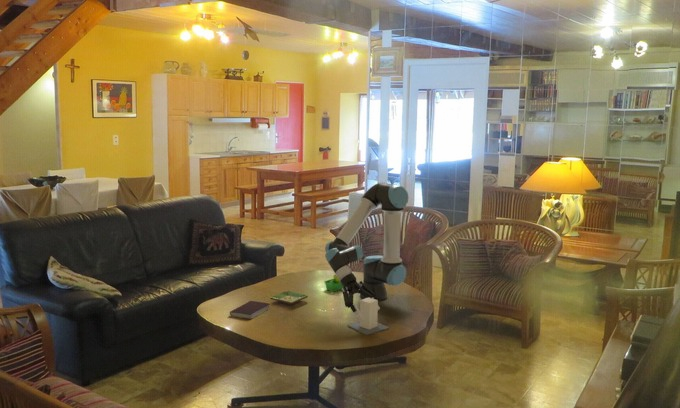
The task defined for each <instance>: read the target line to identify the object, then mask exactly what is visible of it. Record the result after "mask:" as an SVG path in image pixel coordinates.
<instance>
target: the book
mask: <svg viewBox="0 0 680 408" xmlns="http://www.w3.org/2000/svg"><path fill="white" fill-rule="evenodd" d="M269 309H271V307H270V303H268V302H263V301H254V300H250V301H248V302H246V303H243V304H242V305H239V306H238V307H236V308H234V309H233V310H230V311H229V316H230V315H232V316H231V317H234V316H237V317H236V318H239V317H241V318H240V319H244V318H245V319H244V320H253V319H254V318H256V317H258V316H259V315H261V314H262V313H264V312H266V311H268V310H269Z"/></svg>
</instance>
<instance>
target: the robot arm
mask: <svg viewBox="0 0 680 408" xmlns="http://www.w3.org/2000/svg"><path fill="white" fill-rule="evenodd" d="M360 201H361V202H359V204H358V206H357V207H356V208H355V210H354V211H353V212H352V214H351V215H350V217H349V218H348V219H347V221H346V223H345V224H344V226H343V227H342V228H341V230H340V231H339V233H338V234H337V235H336V237H335V238H334V239H333V240H331V241H329V242H327V243H326V244H325V246H324V247H325V249H324V251H325V255H324V257H325V259H326V261H327V263H328V265H329V266H330V268H331V269H332V271H333V272H334V275H335V274H336V276H337V277H338V279H339V280H340V282H341V284H342V285H343V288H342V289H340V290H341V293H342V296H343V301H344V306H345V308H348V309H349V308H350V310H351V311H352V313H354V315H355V316H356V318H357V319H358V320H360V317H361V316H362V314H361V313H360V309H359V308H358V307H357V305H356V303H354V295H355V294H359V297H360V298H361V299H365V298H372V299H375V300H378V301H381V300H382V301H383V300H385V299H387V298H388V292H387V288H386V285H389V286H393V287H397V286H399V285H401V284H402V283H403V282H405V279H406V278H407V277H406V276H407V269H406V267H405V265H403V259H402V258H401V257H400V250H401V249H400V248H401V213H403V211H404V208H405V207H406V206H407V204H408V202H409V193H408V191H407V189H406V188H405V187H404V186H402V185H399V184H394V183H386V182H378V183H376V184H373V185H372V186H371V187H370V188H369V189H367V190H366V191H365V193H364V194H363V195H362V197H360ZM379 205H380V206H381V208H380V209H381V211H382V212H383V253H382V254H383V255H369V256H366V257H364V250H363V248H362V247H361V246H360V245H359V244H356V245H352V246H350V243H351V242H352V240H353V239H354V237H355V236H356V234H357V233H358V232H359V231H360V228H362V226H363V224H364V223H365V221H366V220H367V218H368V217H369V216H370V215H371V213H372V211H373V210H376V209H377V208H378V206H379ZM363 257H364V259H363V266H362V267H363V273H362V274H363V275H362V276H363V277H362V278H363V281H362V280H360V281H359V282H357V277H356V276H355V275H354V273H353V271H352V269H351V267H350V266H349V265H350V264H351V263H354V262H357V261H359V260H361V259H362V258H363ZM385 284H386V285H385ZM380 309H381V307H380V306H379V305H378V311H379V310H380Z"/></svg>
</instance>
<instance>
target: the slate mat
mask: <svg viewBox="0 0 680 408" xmlns="http://www.w3.org/2000/svg"><path fill="white" fill-rule="evenodd" d="M347 327H349V328H351V329H352V330H354V331H356V332H359V333H361V334H363V335H366V336H369V335H372V334H375V333H379V332H383V331H386V330H389V329H390V327H389V326H386V325H385V324H382V323H380V322H378V321H377V327H374V328H372V329H366V328H363V327H360V321H358V322H354V323H351V324H348V325H347Z"/></svg>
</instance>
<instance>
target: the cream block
mask: <svg viewBox="0 0 680 408" xmlns="http://www.w3.org/2000/svg"><path fill="white" fill-rule="evenodd" d="M378 303H379V300H375V299H372V298H365V299H363V298H361V299H360V300H359V311H360V313H361V314H362V316H361V317H360V318H359V322H360V327H363V328H366V329H372V328H374V327H377V322H378V311H379V310H378V306H379V304H378Z"/></svg>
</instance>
